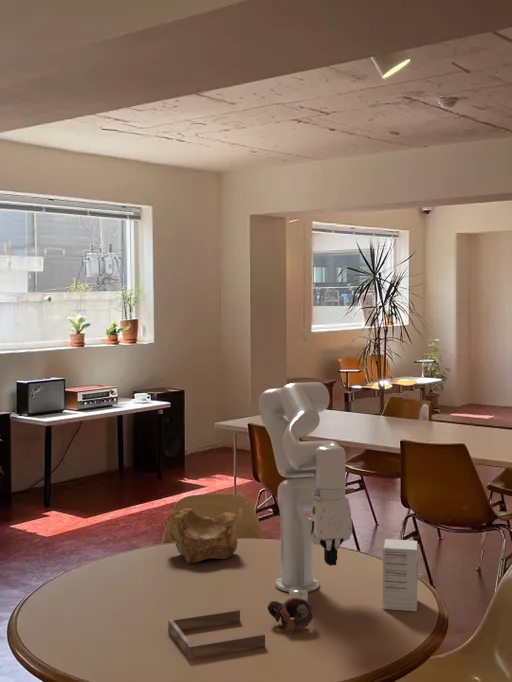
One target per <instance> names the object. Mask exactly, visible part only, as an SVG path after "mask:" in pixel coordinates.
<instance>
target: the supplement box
mask: <svg viewBox="0 0 512 682" xmlns="http://www.w3.org/2000/svg"><path fill="white" fill-rule="evenodd" d="M418 544H419V543H418V540H413V539H412V540H409V539H391V538H390V539H389V538H385V539H384V545H383V548H382V609H383V610H392V611H393V610H394V611H405V612H418V610H417V609H418V581H419V579H418V578H419V577H418V576H419V575H418V572H419V569H418V568H419V565H418V564H419V552H418V551H419V547H418V546H419V545H418Z"/></svg>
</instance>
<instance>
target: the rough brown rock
mask: <svg viewBox="0 0 512 682" xmlns="http://www.w3.org/2000/svg"><path fill="white" fill-rule="evenodd" d="M166 523H167V524H166V530H167V535H168V538H169V539H170V540H171V541H172V542H174V543H175V546H176V549H177V552H178V553H179V554H181V555H182V556H183V557H184V560H185V562H186V563H187V564H188V565H189V564H190V565H191V564H194V563H200V562H202V561H204V560H208V559H218V560H227V559H229V558H230V557H232V555H233V554H234V553H236V550H237V548H238V532H237V515H236V514H235V513H233V512H228V511H227V512H226V511H225V512H223V513H222V514H220V515H218V516H214V517H210V516H202V515H199V514H198V513H196V512H195V510H194V509H192V508H190V507H189V508H188V507H187V508H183V509H181V510H175V511H171V512H170V513H169V514H168V515H167V518H166Z"/></svg>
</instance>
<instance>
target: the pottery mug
mask: <svg viewBox="0 0 512 682" xmlns="http://www.w3.org/2000/svg"><path fill="white" fill-rule="evenodd" d="M302 604H303V605H305V606H306V607H307V614H306V615H305V616H304V613H303V612H299V611H298V610H297V608H298V606H299V605H302ZM267 611H268V613H269V614H270V615H271V616H272V617H273V618H274V619H275V621H276V623H279V622H280V621H281V622H284V621H285V623H287V624H286V627H285V631H286V632H287V633H289V634H292V633H293V632H294V631H297V630H300V629H303V628H306V627H308V626H309V624H310V623H311V622H312V619H314V614H313V613H312V612H313V610H312V606H311V604H310V603H309V602H307V601H305V600H303V599H300V598H290V599H289V598H288V599H287V600H285V601H284V603H281V602H279V601H274V600H273V601H272V600H271V602H269V603H268V605H267ZM303 616H304V617H303ZM292 619H293V620H292Z"/></svg>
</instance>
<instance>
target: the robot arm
mask: <svg viewBox="0 0 512 682" xmlns="http://www.w3.org/2000/svg"><path fill="white" fill-rule="evenodd" d="M329 405H330V392H329V390H328V388H327V386H326V385H324V383H322V382H319V381H315V382H314V381H313V382H310V381H309V382H291V383H287V384H285V385H283V387H277V388H269V389H267V390H265V391H263V392H262V393H261V394H260V396H259V400H258V409H259V415H260V418H261V421H262V423H263V425H264V428H265V430H266V432H267V433H268V435H269V439H270V442H271V447H272V451H273V456H274V461H275V465H276V469H277V472H278V473H279V475H280V476H282V477H284V478H286V479H285V480H283V481H282V482H280V483H279V485H278V486H277V500H278V505H279V516H280V567H279V570H280V577H279V578H277V579H276V580H275V587H276V588H277V589H278V590H280V591H283V592H287V593H289V589H290V588H293V587H303V588H306V589H307V590H308V593H310V592H313V591H316V590H317V589H318V588H319V586H320V584H319V583H320V582H319V580H318V579H316V578H315V577H314V568H315V567H314V564H315V563H314V562H315V561H314V556H315V555H314V552H315V551H314V548H315V547H314V546H315V545H314V544H316V545H320V546H321V547H322V548H323V549H324V550H323V552H324V553H323V557H324V559H323V560H324V561H325V564H326V565H328V566H329V567H331V566H337V561H338V550H339V549H340V546H341V545H342V544H343V543H344V542H346V541H349V540H350V539H351V536H352V533H353V522H352V521H353V520H352V511H351V505H350V500H349V498H348V497H346V450H345V449H344V447H342V446H340V444H338V443H337V442H336V441H335V440H328V439H327V440H309V441H308V440H306V441H301V440H300V439H301V438H304V437H305V436H307V435H309V434H312V432H314V431H315V430H316V429H317V428H318V427H319V425H320V421H321V419H320V413H322V412H324V411H325V410H327V409H328V407H329ZM284 416H285V417H286V418H287V419H286V418H285V417H284ZM309 511H311V515H310V518H309V516H307V514H306V512H309Z"/></svg>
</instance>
